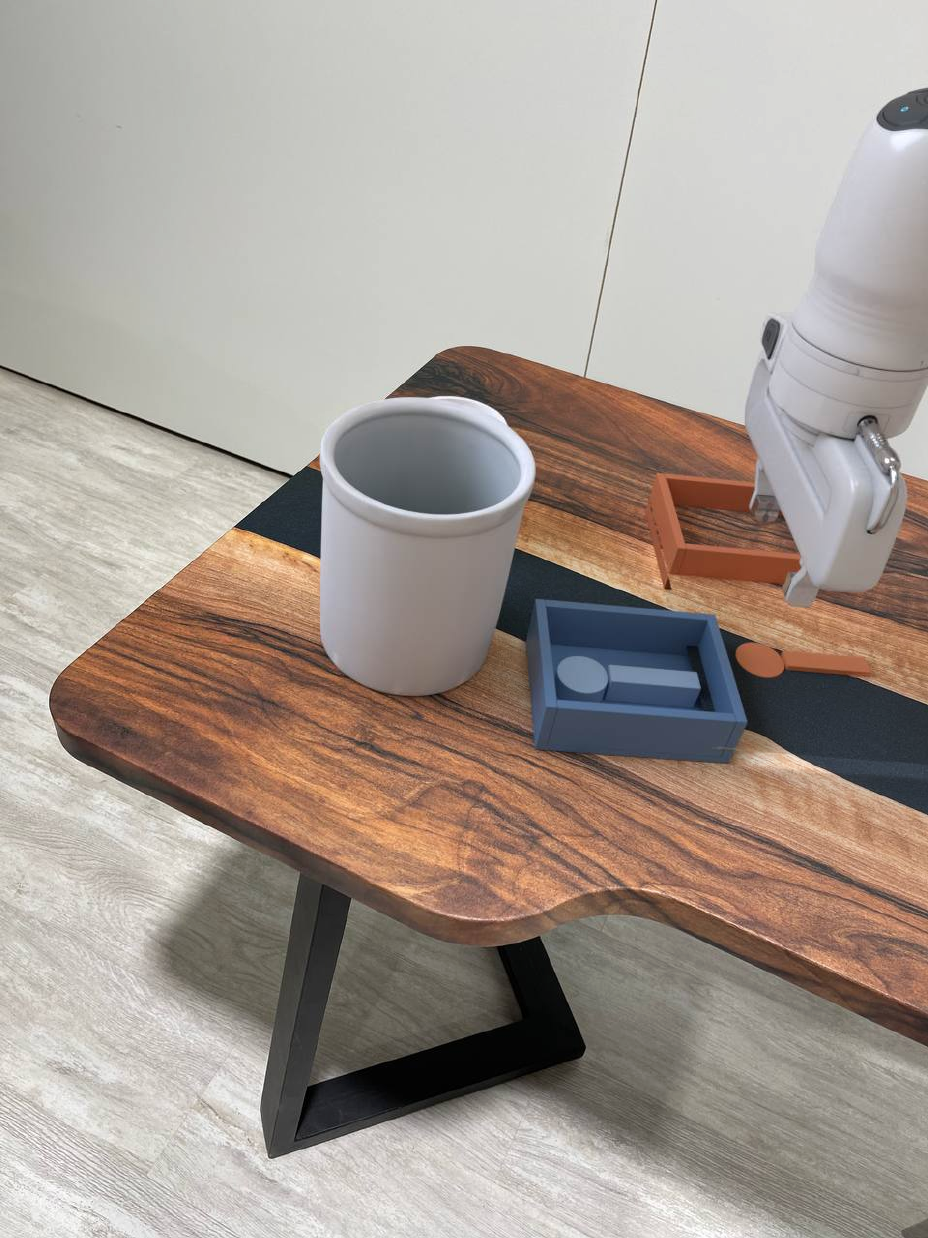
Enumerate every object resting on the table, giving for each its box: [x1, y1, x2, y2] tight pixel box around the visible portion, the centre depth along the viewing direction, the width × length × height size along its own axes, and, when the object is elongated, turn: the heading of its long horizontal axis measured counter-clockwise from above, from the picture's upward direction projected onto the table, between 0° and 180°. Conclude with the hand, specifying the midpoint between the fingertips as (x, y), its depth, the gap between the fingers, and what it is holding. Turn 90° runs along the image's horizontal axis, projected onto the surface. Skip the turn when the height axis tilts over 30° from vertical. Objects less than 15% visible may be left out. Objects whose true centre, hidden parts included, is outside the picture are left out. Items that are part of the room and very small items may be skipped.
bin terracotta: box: [644, 472, 802, 590], centre depth 94 cm, size 15×12×5 cm
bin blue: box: [525, 598, 748, 765], centre depth 77 cm, size 15×12×5 cm
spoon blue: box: [554, 656, 702, 708], centre depth 78 cm, size 11×4×2 cm, turn 91°
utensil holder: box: [319, 396, 537, 697], centre depth 75 cm, size 15×15×18 cm
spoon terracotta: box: [734, 642, 872, 679], centre depth 83 cm, size 11×4×2 cm, turn 91°
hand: (777, 556), depth 71 cm, fingers open, 8 cm apart
